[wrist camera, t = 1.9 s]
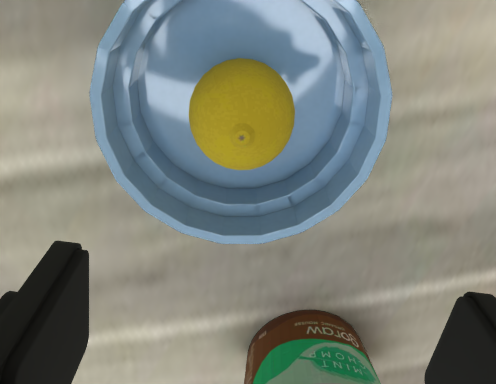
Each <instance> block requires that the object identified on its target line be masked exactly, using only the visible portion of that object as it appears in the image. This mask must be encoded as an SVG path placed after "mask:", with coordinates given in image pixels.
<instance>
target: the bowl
mask: <svg viewBox="0 0 496 384" xmlns="http://www.w3.org/2000/svg"><path fill="white" fill-rule="evenodd" d="M237 58H244V59H253V60H256V61H259V62H262V63H265V64H266V65H268V66H269V67H271V68H272V69H274V70H275V71H276V72H277V73H278V74H279V75H280V76H281V77H282V78H283V80H284V81H285V82H286V84H287V86H288V88H289V90H290V92H291V94H292V97H293V102H294V107H295V119H294V127H293V130H292V133H291V136H290V139H289V141H288V143H287V144H286V146H285V147H284V149H283V150H282V152H281V153H280V154H279V155H278V156H277V157H275V158H274V159H273V160H272V161H271V162H269V163H267V164H265V165H263V166H262V167H258V168H255V169H251V170H234V169H229V168H225V167H223V166H221V165H219V164H216V163H215V162H213V161H212V160H211V159H210V158H208V157H207V156H206V155H205V154H204V153H203V151H202V150H201V149H200V148H199V146H198V145H197V143H196V141H195V139H194V137H193V134H192V132H191V128H190V122H189V105H190V99H191V96H192V93H193V91H194V88H195V86H196V85H197V83H198V82H199V80H200V79H201V78H202V76H203V75H204V74H205V73H206V72H208V71H209V70H210V69H211V68H212V67H214V66H215V65H217V64H220V63H222V62H224V61H226V60H231V59H237ZM89 96H90V103H91V109H92V116H93V123H94V130H95V137H96V139H97V143H98V145H99V147H100V149H101V151H102V153H103V155H104V157H105V159H106V161H107V163H108V165H109V167H110V169H111V171H112V173H113V175H114V178H115V179H116V181H117V182H118V183H119V184H120V185H121V186H122V187H123V189H124V190H125V191H126V192H127V193H128V194H129V195H130V196H131V197H132V198H133V199H134V200H135V201H136V202H137V204H138V205H139V206H140V207H141V208H142V209H143V210H144V211H146V212H147V213H148V214H150V215H152V216H154V217H155V218H157V219H159V220H160V221H162V222H164V223H165V224H167V225H169V226H170V227H172V228H174V229H175V230H177V231H179V232H180V233H181V232H182V233H183V234H187V235H190V236H194V237H198V238H201V239H205V240H209V241H212V242H216V243H220V244H221V243H222V244H262V243H267V242H270V241H274V240H277V239H281V238H285V237H288V236H292V235H295V234H299V233H302V232H304V231H306V230H307V229H309V228H310V227H312V226H314V225H315V224H317V223H319V222H320V221H322V220H324V219H325V218H327V217H329V216H330V215H332V214H334V213H335V212H337V211H338V210H339V209H340V208H341V207H342V206H343V205H344V204H345V203H346V202H347V201H348V200H349V198H350V197H351V196H352V195H353V194H354V193H355V192H356V191H357V190H358V189H359V188H360V187H361V185H362V184H363V183H364V182H365V181H366V179H367V178H368V176H369V174H370V172H371V170H372V168H373V166H374V164H375V162H376V160H377V158H378V155H379V153H380V151H381V149H382V147H383V145H384V143H385V141H386V137H387V130H388V123H389V116H390V109H391V102H392V88H391V83H390V77H389V72H388V66H387V61H386V55H385V50H384V46H383V44H382V42H381V41H380V39H379V37H378V35H377V33H376V32H375V30H374V28H373V26H372V25H371V23H370V21H369V19H368V17H367V16H366V14H365V12H364V10H363V9H362V7H361V5H360V4H359V2H358V1H357V0H124V2H123V3H122V4H121V6H120V8H119V10H118V11H117V13H116V15H115V17H114V18H113V20H112V22H111V24H110V25H109V27H108V29H107V31H106V32H105V34H104V36H103V38H102V39H101V41H100V43H99V45H98V48H97V53H96V59H95V64H94V70H93V75H92V81H91V86H90V95H89Z"/></svg>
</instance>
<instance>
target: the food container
mask: <svg viewBox="0 0 496 384" xmlns="http://www.w3.org/2000/svg"><path fill="white" fill-rule="evenodd" d="M244 384H381V383H380V381H379V379H378V377H377V375H376V373H375V370H374V368H373V366H372V364H371V362H370V360H369V357H368V355H367V353H366V351H365V349H364V347H363V344H362V342H361V340H360V338H359V336H358V335H357V333H356V332H355V330H354V329H353V327H352V326H351V325H350V324H348V323H347V322H346V321H344V320H343V319H341V318H340V317H339V316H336V315H333V314H330V313H327V312H323V311H317V310H302V311H295V312H291V313H287V314H284V315H282V316H279V317H277V318H275V319H273V320H272V321H270V322H269V323H267V324H266V325H265V326H263V327H262V328H261V329H260V330H259V331H258V332H257V334H256V335H255V337H254V338H253V340H252V342H251V344H250V346H249V350H248V355H247V364H246V372H245V380H244Z"/></svg>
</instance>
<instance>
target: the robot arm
mask: <svg viewBox="0 0 496 384" xmlns="http://www.w3.org/2000/svg"><path fill="white" fill-rule="evenodd" d="M88 338H89V253H88V251H87V250H82V247H81V244H79V243H72V242H63V241H55V242H54V243H53V244H52V245H51V247H50V248H49V250H48V251H47V252H46V254H45V255H44V257H43V258H42V259H41V261H40V262H39V263H38V265H37V266H36V268H35V269H34V270H33V272H32V273H31V275H30V276H29V277H28V279H27V280H26V281H25V283H24V284H23V286H22V287H21V288H20V290H19V291H18V292H14V291H9V292H7V293H5V294H4V295H3V296H2V297H1V299H0V384H71V383H72V380H73V378H74V376H75V373H76V371H77V369H78V366H79V364H80V362H81V359H82V357H83V355H84V353H85V350H86V347H87V343H88ZM425 384H496V298H495V297H494V296H493V295H490V294H484V293H476V292H467V293H466V294H464V296H463V297H459V298H458V299H457V301H456V303H455V305H454V307H453V310H452V312H451V314H450V317H449V319H448V321H447V323H446V326H445V328H444V330H443V333H442V335H441V337H440V339H439V342H438V344H437V346H436V349H435V351H434V353H433V356H432V358H431V360H430V362H429V365H428V367H427V369H426V372H425Z"/></svg>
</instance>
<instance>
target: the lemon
mask: <svg viewBox="0 0 496 384" xmlns="http://www.w3.org/2000/svg"><path fill="white" fill-rule="evenodd" d="M294 119H295V107H294V102H293V97H292V94H291V92H290V90H289V88H288V86H287V84H286V82H285V81H284V80H283V78H282V77H281V76H280V75H279V74H278V73H277V72H276V71H275V70H274V69H272V68H271V67H269V66H268V65H266V64H265V63H262V62H259V61H256V60H253V59H244V58H237V59H231V60H226V61H224V62H222V63H220V64H217V65H215V66H214V67H212V68H211V69H210V70H209V71H208V72H206V73H205V74H204V75H203V76H202V78H201V79H200V80H199V82H198V83H197V85H196V86H195V88H194V91H193V93H192V96H191V99H190V105H189V122H190V128H191V132H192V134H193V137H194V139H195V141H196V143H197V145H198V146H199V148H200V149H201V150H202V151H203V153H204V154H205V155H206V156H207V157H208V158H210V159H211V160H212V161H213V162H215V163H216V164H219V165H221V166H223V167H225V168H229V169H234V170H251V169H255V168H258V167H262V166H263V165H265V164H267V163H269V162H271V161H272V160H273V159H274V158H275V157H277V156H278V155H279V154H280V153H281V152H282V150H283V149H284V147H285V146H286V144H287V143H288V141H289V139H290V136H291V133H292V130H293V127H294Z"/></svg>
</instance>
